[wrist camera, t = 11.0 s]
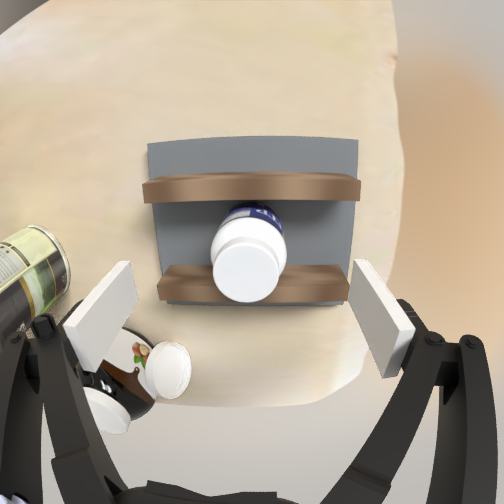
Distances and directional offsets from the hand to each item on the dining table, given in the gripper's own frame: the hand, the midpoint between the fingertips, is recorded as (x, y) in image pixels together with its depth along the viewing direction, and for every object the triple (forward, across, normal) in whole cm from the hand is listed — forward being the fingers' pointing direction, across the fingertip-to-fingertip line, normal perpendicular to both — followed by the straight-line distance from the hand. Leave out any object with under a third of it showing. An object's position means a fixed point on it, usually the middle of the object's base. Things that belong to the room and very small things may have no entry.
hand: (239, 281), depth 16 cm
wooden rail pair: (+10, +1, 0) cm, 10 cm away
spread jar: (+11, -13, -16) cm, 24 cm away
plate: (+11, +1, 0) cm, 11 cm away
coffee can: (+12, -26, -4) cm, 29 cm away
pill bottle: (+10, 0, 0) cm, 10 cm away
